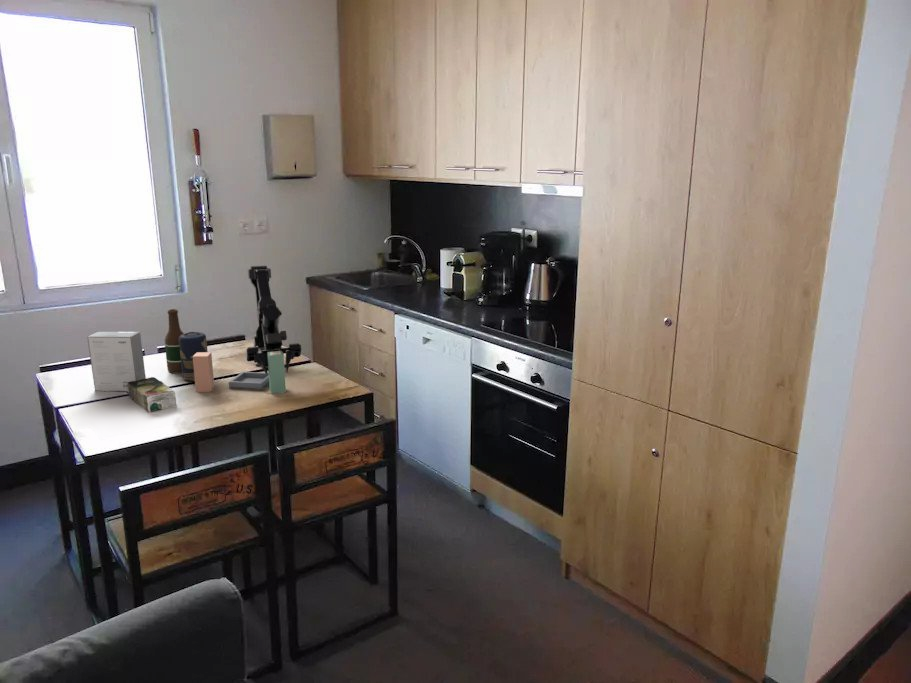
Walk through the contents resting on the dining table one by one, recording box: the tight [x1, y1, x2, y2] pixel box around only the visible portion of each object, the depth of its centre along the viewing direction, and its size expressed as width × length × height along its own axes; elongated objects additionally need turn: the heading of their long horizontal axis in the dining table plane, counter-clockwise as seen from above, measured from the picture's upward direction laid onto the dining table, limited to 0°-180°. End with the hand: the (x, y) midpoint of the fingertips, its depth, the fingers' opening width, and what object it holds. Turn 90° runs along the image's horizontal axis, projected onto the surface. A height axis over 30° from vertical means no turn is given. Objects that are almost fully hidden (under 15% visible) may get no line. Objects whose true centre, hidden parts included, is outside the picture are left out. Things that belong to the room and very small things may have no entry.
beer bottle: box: [164, 308, 185, 374], centre depth 259 cm, size 8×8×24 cm
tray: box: [228, 371, 269, 391], centre depth 247 cm, size 12×12×2 cm
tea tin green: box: [267, 351, 287, 395], centre depth 239 cm, size 5×5×14 cm
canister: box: [179, 331, 209, 382], centre depth 250 cm, size 10×10×18 cm
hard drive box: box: [87, 331, 147, 392], centre depth 239 cm, size 16×8×20 cm, turn 89°
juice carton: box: [128, 376, 178, 413], centre depth 228 cm, size 20×10×6 cm, turn 43°
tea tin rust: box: [193, 351, 215, 393], centre depth 240 cm, size 5×5×13 cm
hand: (277, 373), depth 238 cm, fingers open, 7 cm apart
